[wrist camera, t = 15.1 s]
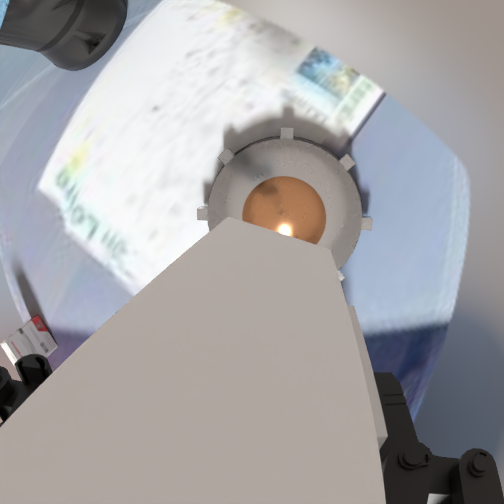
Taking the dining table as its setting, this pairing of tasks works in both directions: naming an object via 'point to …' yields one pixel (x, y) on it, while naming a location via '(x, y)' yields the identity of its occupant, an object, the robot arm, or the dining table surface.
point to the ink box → (29, 341)
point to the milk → (208, 390)
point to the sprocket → (290, 194)
